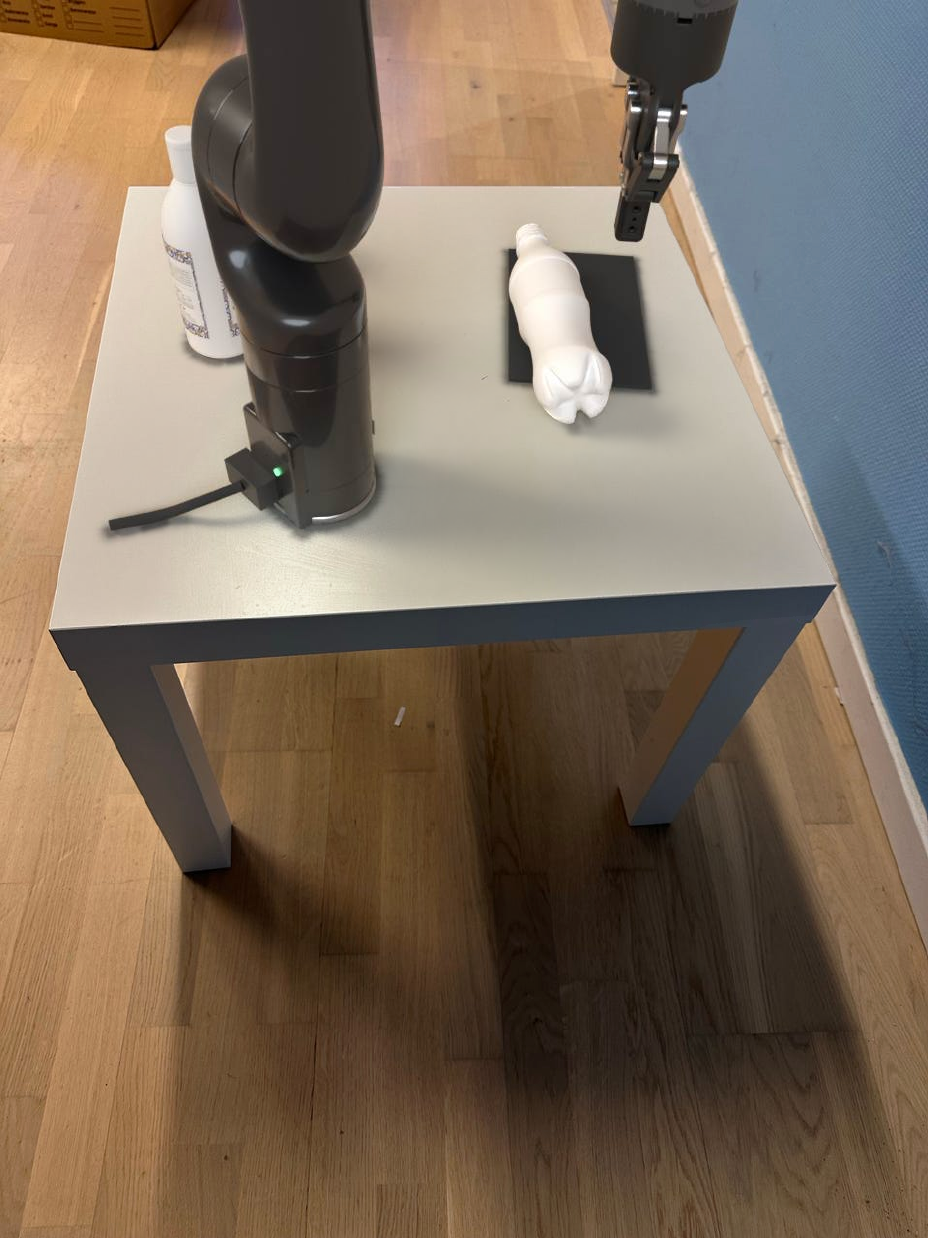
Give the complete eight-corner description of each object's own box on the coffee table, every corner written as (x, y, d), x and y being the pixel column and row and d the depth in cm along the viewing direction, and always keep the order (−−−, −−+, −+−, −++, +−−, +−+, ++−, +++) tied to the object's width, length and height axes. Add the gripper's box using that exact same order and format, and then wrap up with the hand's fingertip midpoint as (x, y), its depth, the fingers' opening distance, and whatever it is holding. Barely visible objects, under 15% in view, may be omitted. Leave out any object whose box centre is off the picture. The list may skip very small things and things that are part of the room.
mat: (651, 389, 88) (651, 386, 87) (508, 381, 87) (509, 378, 87) (632, 259, 100) (633, 256, 100) (508, 251, 100) (508, 248, 100)
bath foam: (258, 314, 91) (225, 110, 75) (260, 358, 87) (226, 153, 71) (188, 318, 90) (140, 113, 74) (187, 363, 86) (136, 156, 70)
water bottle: (523, 412, 80) (481, 243, 94) (578, 442, 85) (530, 276, 98) (580, 359, 76) (527, 190, 90) (634, 393, 80) (577, 227, 94)
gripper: (615, -62, 60) (576, 188, 74) (630, 23, 52) (583, 283, 67) (725, -54, 60) (666, 194, 74) (756, 31, 53) (683, 289, 67)
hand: (627, 236), depth 70 cm, fingers closed
